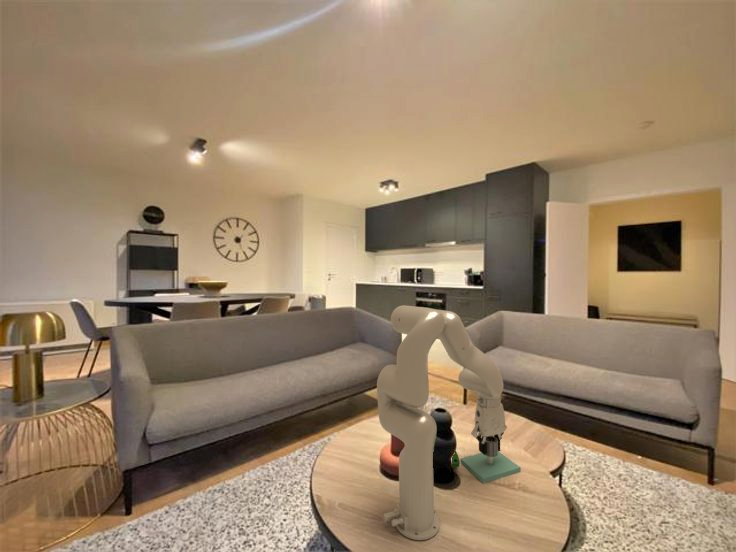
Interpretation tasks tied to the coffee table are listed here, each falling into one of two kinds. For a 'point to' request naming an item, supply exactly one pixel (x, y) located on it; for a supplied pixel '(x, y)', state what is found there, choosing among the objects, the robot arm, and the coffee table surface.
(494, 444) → the grey ribbed cylinder
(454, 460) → the clamp
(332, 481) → the coffee table surface
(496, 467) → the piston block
